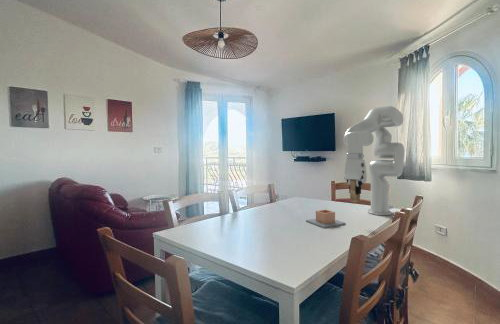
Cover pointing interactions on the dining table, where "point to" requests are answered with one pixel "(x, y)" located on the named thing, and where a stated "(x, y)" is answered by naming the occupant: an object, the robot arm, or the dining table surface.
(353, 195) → the stick
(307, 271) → the dining table surface
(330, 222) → the square socket base
